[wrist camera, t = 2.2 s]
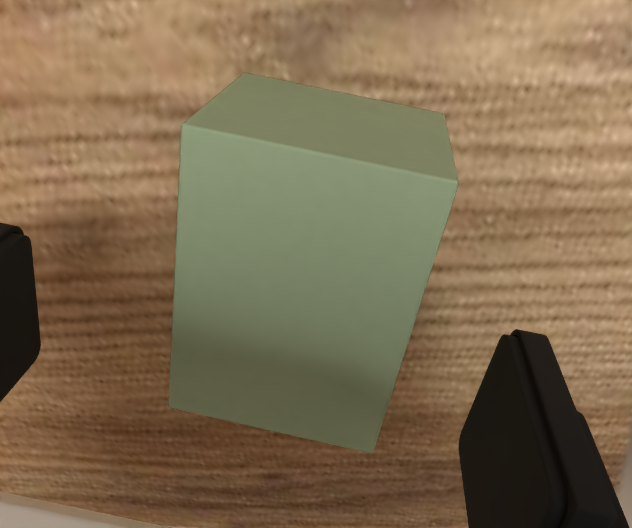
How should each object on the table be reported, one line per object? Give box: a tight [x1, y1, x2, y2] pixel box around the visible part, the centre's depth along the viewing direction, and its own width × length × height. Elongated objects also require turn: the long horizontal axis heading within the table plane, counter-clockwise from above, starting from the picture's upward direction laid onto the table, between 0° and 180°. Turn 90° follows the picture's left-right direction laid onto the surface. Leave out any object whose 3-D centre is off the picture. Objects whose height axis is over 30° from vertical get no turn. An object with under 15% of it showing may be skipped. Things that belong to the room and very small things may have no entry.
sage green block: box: [168, 73, 459, 453], centre depth 14 cm, size 5×7×4 cm
